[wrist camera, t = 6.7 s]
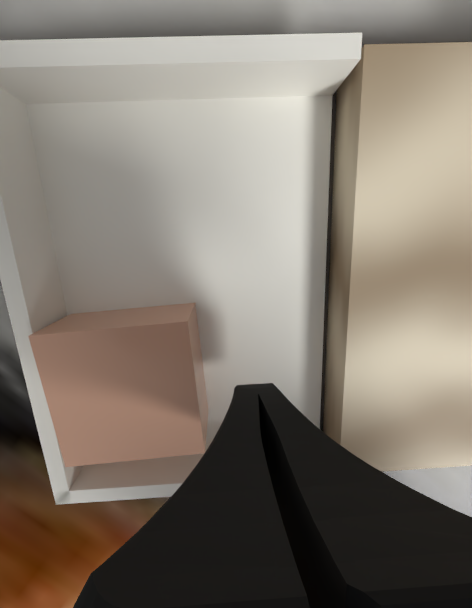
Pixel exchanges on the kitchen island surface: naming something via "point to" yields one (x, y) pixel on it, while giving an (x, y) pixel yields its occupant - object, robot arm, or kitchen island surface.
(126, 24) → the kitchen island surface
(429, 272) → the board
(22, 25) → the kitchen island surface
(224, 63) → the tray
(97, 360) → the tile
